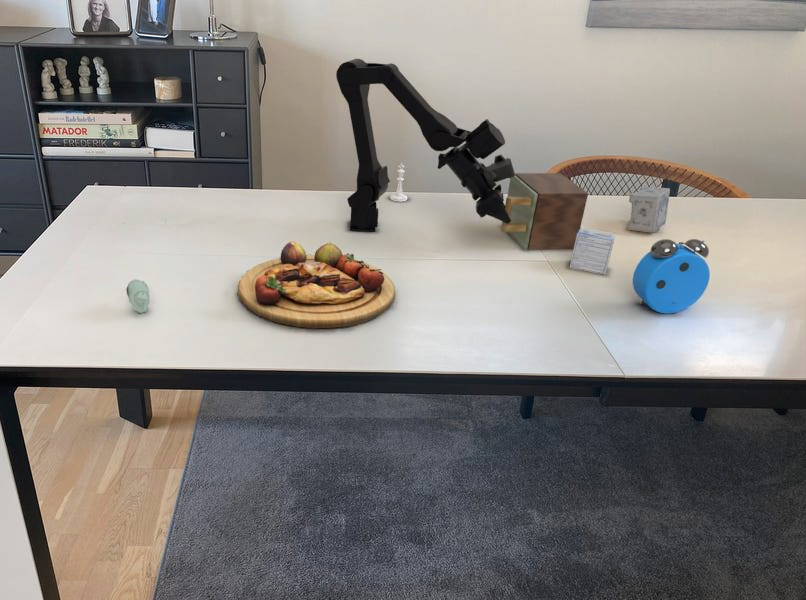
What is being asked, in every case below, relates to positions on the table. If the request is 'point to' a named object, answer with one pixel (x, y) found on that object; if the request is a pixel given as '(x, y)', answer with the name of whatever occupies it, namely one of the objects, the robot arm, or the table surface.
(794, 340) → the table surface
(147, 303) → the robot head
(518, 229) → the door
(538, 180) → the cupboard
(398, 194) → the chess piece
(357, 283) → the wooden plate
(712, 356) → the table surface
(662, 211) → the incense holder
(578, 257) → the medicine box
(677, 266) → the alarm clock
